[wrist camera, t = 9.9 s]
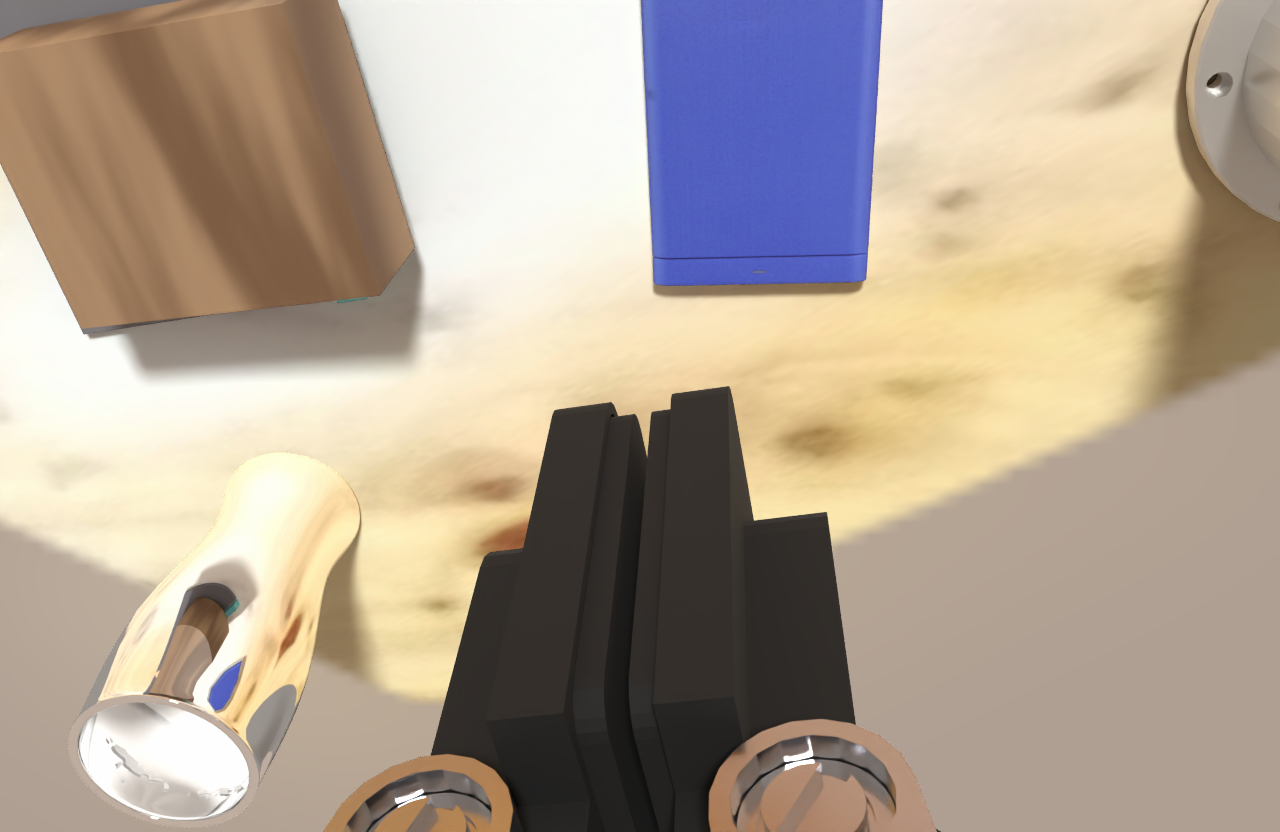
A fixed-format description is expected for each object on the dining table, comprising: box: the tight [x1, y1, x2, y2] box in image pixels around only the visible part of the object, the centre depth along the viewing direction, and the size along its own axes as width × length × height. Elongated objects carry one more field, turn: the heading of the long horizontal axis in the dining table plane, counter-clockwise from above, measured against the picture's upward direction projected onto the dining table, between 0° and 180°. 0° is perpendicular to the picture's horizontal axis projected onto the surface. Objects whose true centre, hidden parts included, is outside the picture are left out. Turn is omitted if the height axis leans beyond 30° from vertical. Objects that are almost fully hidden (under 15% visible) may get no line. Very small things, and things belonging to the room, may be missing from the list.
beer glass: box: [68, 452, 360, 828], centre depth 47 cm, size 7×7×15 cm
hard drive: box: [641, 0, 883, 286], centre depth 43 cm, size 2×8×12 cm
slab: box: [0, 0, 415, 329], centre depth 42 cm, size 4×10×12 cm
